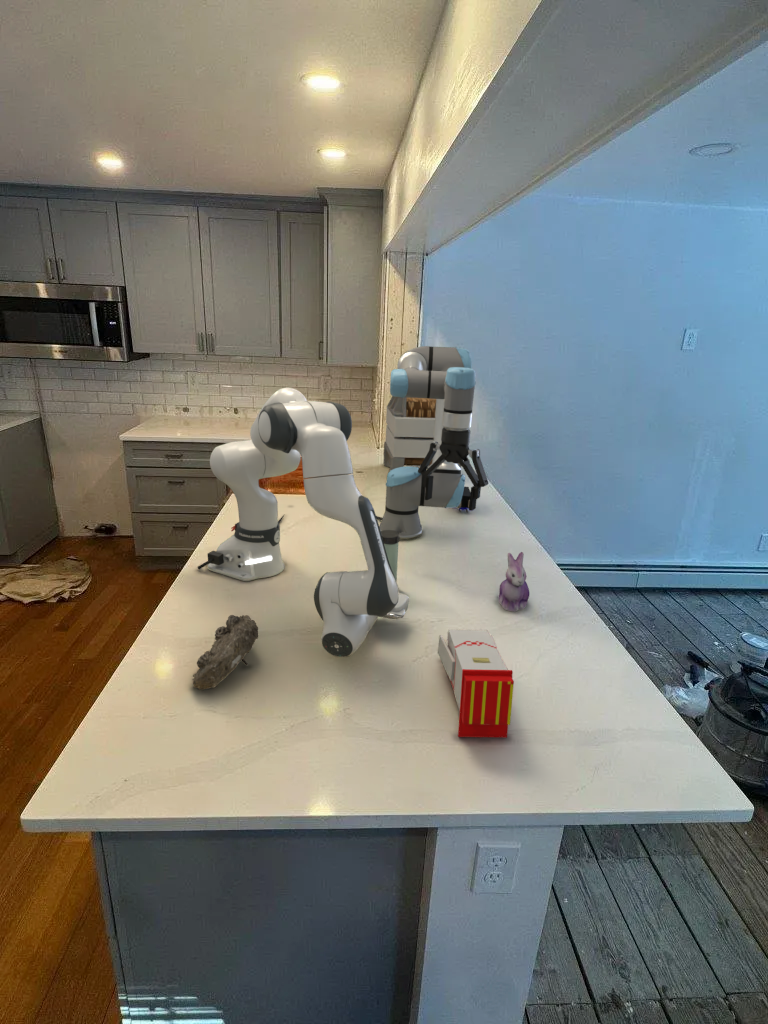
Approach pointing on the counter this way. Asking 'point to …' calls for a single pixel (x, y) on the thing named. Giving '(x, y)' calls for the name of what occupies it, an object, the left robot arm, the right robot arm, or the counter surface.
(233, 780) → the counter surface
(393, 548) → the pale green tall cylinder
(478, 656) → the toy
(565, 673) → the counter surface
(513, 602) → the figurine
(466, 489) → the figurine character
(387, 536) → the lid
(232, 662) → the fossil
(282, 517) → the feather
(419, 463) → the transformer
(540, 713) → the counter surface
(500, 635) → the counter surface
